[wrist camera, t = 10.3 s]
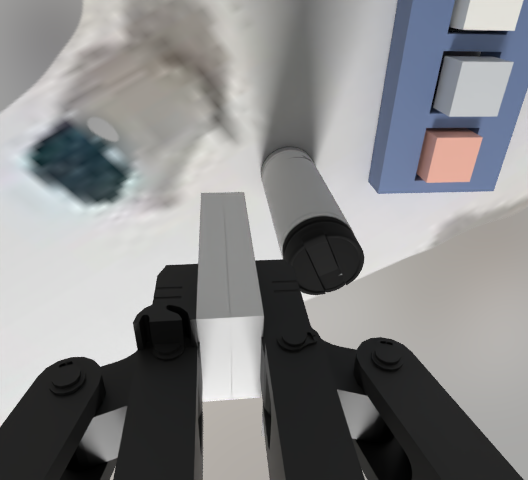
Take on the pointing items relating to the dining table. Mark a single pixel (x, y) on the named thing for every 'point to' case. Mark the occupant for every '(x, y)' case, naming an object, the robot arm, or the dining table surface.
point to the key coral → (448, 155)
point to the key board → (422, 91)
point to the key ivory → (485, 14)
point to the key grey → (472, 86)
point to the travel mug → (309, 223)
